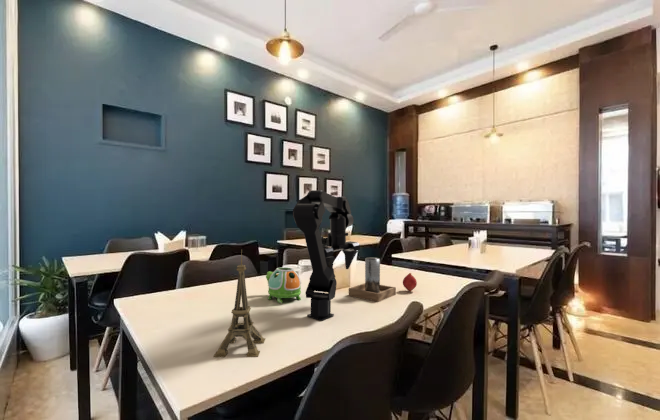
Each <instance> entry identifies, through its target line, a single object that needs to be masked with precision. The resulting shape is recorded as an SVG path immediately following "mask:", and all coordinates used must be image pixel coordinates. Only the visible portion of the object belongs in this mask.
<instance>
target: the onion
mask: <svg viewBox="0 0 660 420" xmlns="http://www.w3.org/2000/svg"><path fill="white" fill-rule="evenodd" d="M402 285H403V287H404V288H405V289H406V290H407V291H408V292H412V291H413V290H415V288H416V287H417V285H418V281H417V279H416V277H414V276H413V274H412V272H409V273H408V274H407V275H405V277H404V278H403V280H402Z"/></svg>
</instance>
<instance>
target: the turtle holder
mask: <svg viewBox="0 0 660 420" xmlns="http://www.w3.org/2000/svg"><path fill="white" fill-rule="evenodd" d="M265 278H266V281H267V284H268V285H267V286H268V290H267V291H268V295H269V296H268V297H267V299H268V300H272V299H273V298H276V300H277V303H279V304H282V303H283V300H282V299H290V298H291V299H292V298H295V299H296V300H298V301H300V300H302V298H301V296H300V295H301V293H302V291H301V284H302V282H301V281H302V280H301V278H300V276H299V274H298V273H297V271H296V270H295V269H294V268H292V267H288V266H287V267H286V266H285V267H284V266H283V267H277V268H276V269H275V270H274V271H271V270H270V271H267V272H266V275H265Z"/></svg>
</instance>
